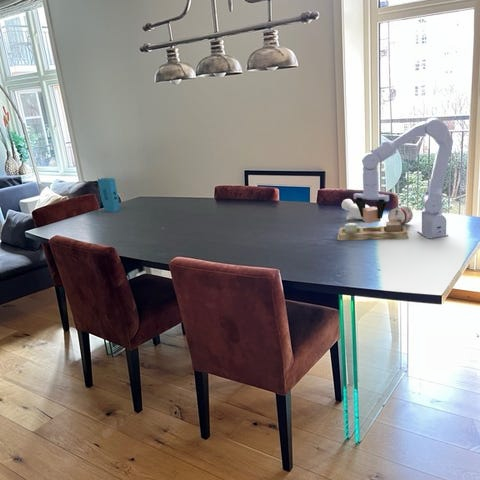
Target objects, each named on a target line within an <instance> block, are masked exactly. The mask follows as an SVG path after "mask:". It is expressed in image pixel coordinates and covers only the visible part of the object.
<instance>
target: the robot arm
mask: <svg viewBox="0 0 480 480" xmlns="http://www.w3.org/2000/svg"><path fill="white" fill-rule="evenodd" d="M426 134H427V135H428V136H429V137H431V138H432V139H433V140H434V141H435V142H436V143H437V148H436V151H435V152H436V153H435V156H434V161H433V165H432V169H431V173H430V179H429V184H428V186H427V188H426V190H425V193H424V195H423V196H422V198H421V203H422V205H423V206H424V207H423V209H421V229H420V230H417V233H419V234H420V235H422V236H424V237H425V238H427V239H434V238H441V237H447V236H449V234H448V233H447V219H446V217H445V215H443V210H442V209H443V202H442V197H443V187H444V183H445V182H444V181H445V178H446V173H447V170H448V166H449V161H450V156H451V153H452V149H453V143H454V140H453V138H452V135H451V133H450V131H449V128H448V125H447V124H446V123H445V122H444V121H443V120H441V119H439V118H438V117H435V116H434V117H433V116H432V117H429V118H427V119H425V120H424V121H421V122H419V123H418V124H416V125H414V126H413V127H411V128H409V129H408V130H407V131H405V132H404V133H403V134H401V135H400V136H398V137H397V138H395V139H394V140H386V141H385V140H384V141H382V142H381V144H380V145H378V146H377V147H375V148H374V149H373V148H372V149H370V150H369V151H370V152H366V153H364V155H363V157H362V160H361V163H362V165H363V167H362V182H363V183H362V185H363V186H362V189H363V190H362V191H363V192H362V193H360V192H359V193H358V192H357V193H353V199H354V204H355V203H356V205H357V206H358V208H359V211H360V214H361V217H363V208H365V205H367V204H366V202H367V200H368V201H369V200H371V201H376V202H375V205H376V208H377V210H378V219H380V220H381V219H383V214H384V211H385V209H386V206H387V205H388V202H389V201H390V195H388V194H383V193H382V194H381V193H379V171H378V165H379V163H383V162H384V161H386V160H388V158H390V157H392V156H394V155H395V154H396V153H397V152H398V151H397V150H398V149H399V148H400V147H402V146H404V145H405V144H407V143H409V142H410V141H412V140H414V139H415V138H417V137H418V138H419V137H426Z"/></svg>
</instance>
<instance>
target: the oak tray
mask: <svg viewBox="0 0 480 480" xmlns="http://www.w3.org/2000/svg"><path fill="white" fill-rule="evenodd" d="M392 239H393V240H395V239H397V240H399V239H409V233H408V230H407V228H406V226H405V225H400V232H387V229H386V225H385V226H384V225H382V226H381V225H380V226H377V225H376V226H357V233H345V227H339V230H338V233H337V241H356V240H357V241H359V240H361V241H362V240H392Z"/></svg>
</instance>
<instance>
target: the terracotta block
mask: <svg viewBox="0 0 480 480" xmlns="http://www.w3.org/2000/svg"><path fill="white" fill-rule="evenodd" d="M362 221H365V222H366V223H367V224H372V223H373V224H374V223H378V222H381V219H378V210H377V206H369V207H368V208H363V219H362Z"/></svg>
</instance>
